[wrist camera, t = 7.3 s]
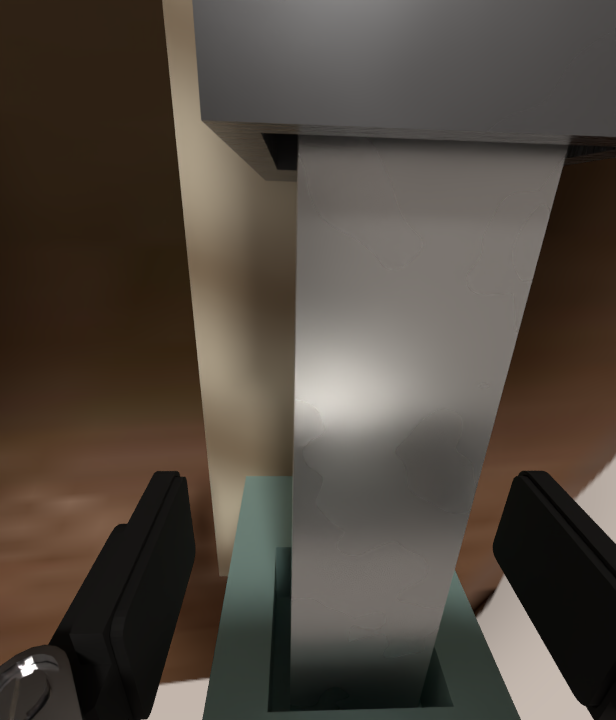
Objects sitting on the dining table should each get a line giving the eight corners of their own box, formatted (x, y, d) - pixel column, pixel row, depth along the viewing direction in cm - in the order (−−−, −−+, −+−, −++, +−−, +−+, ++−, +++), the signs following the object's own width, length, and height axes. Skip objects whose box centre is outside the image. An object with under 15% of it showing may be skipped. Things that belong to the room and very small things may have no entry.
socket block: (246, 476, 15) (197, 745, 7) (413, 475, 15) (527, 734, 8) (249, 545, 16) (212, 826, 9) (400, 544, 17) (486, 814, 9)
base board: (143, -396, 8) (109, -529, 6) (597, -351, 8) (659, -466, 7) (224, 548, 19) (219, 576, 17) (416, 546, 19) (425, 573, 18)
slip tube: (300, -81, 6) (306, -383, 3) (496, -68, 6) (699, -343, 3) (290, 592, 12) (290, 718, 9) (386, 590, 12) (415, 714, 9)
